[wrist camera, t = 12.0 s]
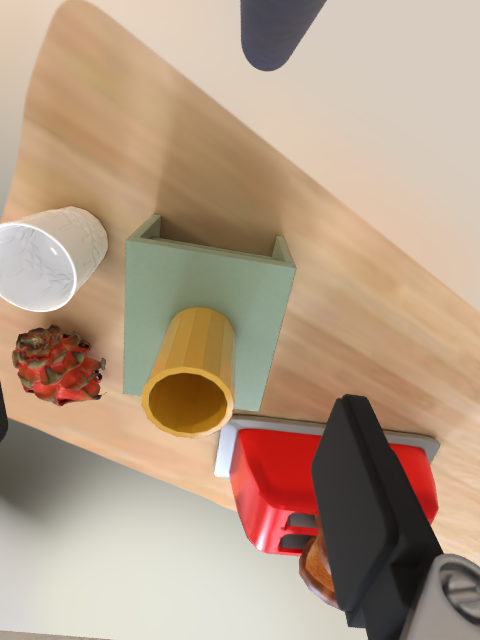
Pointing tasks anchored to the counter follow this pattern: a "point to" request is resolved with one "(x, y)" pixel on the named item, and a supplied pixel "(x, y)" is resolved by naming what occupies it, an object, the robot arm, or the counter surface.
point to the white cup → (49, 257)
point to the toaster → (300, 487)
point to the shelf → (204, 302)
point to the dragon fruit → (57, 366)
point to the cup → (193, 375)
